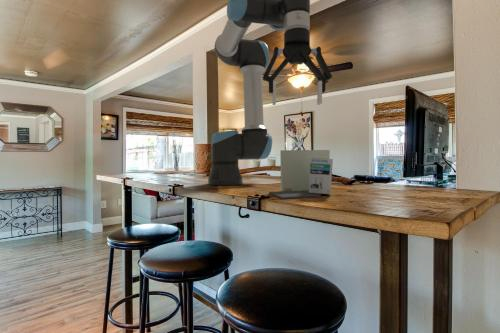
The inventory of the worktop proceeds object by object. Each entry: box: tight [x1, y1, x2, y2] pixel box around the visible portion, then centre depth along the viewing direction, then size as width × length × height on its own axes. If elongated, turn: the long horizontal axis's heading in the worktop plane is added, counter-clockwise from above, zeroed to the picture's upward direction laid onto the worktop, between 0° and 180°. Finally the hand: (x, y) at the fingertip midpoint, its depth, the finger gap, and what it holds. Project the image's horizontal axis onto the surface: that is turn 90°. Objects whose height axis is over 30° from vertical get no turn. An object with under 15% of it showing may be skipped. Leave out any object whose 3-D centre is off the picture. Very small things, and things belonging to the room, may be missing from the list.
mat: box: [268, 190, 322, 200], centre depth 89 cm, size 12×12×1 cm
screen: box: [279, 149, 331, 191], centre depth 101 cm, size 4×18×14 cm, turn 104°
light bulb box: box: [308, 158, 334, 195], centre depth 92 cm, size 11×7×11 cm, turn 169°
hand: (296, 104), depth 87 cm, fingers open, 13 cm apart
